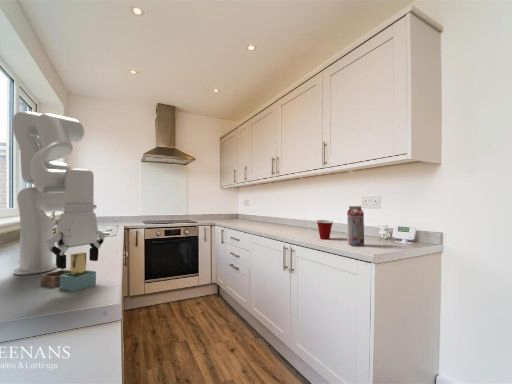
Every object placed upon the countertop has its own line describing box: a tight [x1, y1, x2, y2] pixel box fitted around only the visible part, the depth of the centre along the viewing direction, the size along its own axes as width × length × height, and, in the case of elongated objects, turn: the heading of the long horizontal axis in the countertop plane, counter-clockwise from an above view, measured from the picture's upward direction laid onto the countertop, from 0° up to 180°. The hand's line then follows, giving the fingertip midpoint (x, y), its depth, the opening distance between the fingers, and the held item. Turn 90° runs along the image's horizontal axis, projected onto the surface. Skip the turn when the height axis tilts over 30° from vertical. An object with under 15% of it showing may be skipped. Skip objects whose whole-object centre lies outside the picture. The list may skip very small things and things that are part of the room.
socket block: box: [40, 269, 70, 288], centre depth 82 cm, size 7×7×3 cm
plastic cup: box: [316, 219, 334, 240], centre depth 166 cm, size 11×11×12 cm
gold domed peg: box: [69, 252, 87, 277], centre depth 78 cm, size 4×4×10 cm
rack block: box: [59, 269, 97, 292], centre depth 78 cm, size 7×7×4 cm
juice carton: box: [346, 205, 365, 247], centre depth 143 cm, size 7×7×22 cm
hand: (78, 264), depth 78 cm, fingers open, 9 cm apart
